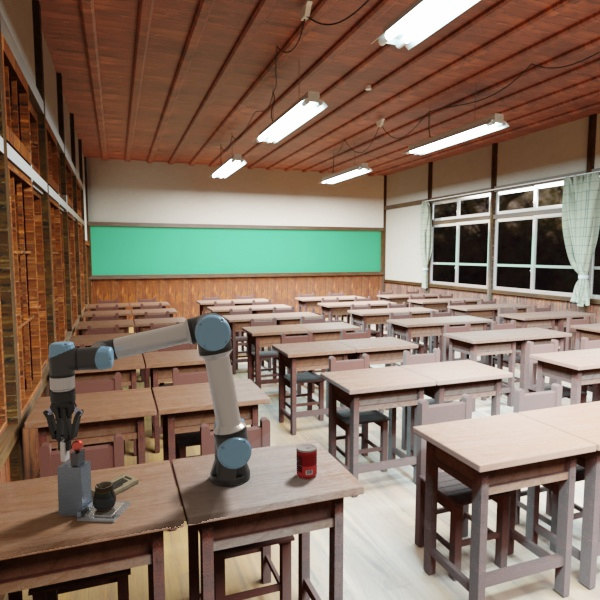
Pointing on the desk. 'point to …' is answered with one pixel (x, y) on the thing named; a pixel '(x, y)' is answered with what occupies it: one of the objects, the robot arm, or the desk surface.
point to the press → (82, 495)
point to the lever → (77, 453)
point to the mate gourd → (104, 496)
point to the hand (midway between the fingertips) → (65, 460)
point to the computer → (120, 483)
